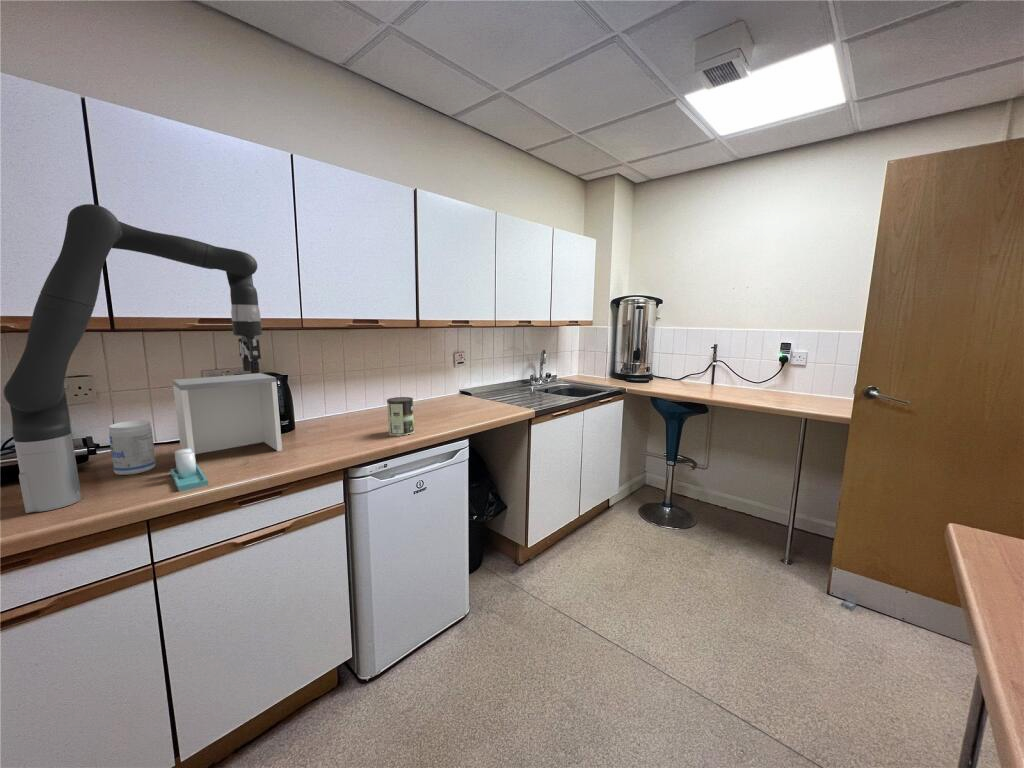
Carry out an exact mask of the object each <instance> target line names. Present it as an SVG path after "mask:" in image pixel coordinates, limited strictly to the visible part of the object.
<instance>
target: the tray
mask: <svg viewBox="0 0 1024 768" xmlns="http://www.w3.org/2000/svg"><path fill="white" fill-rule="evenodd" d="M195 459H196V455H195V456H194V452H192V449H181V448H180V449H178V450H175V451H174V461H175V467H176V468H171V469H170V474H171V476H172V477H171V478H172V479H173V481H174V485H175V487H176V488H177V491H178V492H184V491H188V490H193V489H197V487H198V488H203V487H206V486H205V485H207V486H209V480H208V478H207V476H206V475H205V474H204V472H203V471H202V470H201V468H200V466H199V465H198V464H197V463H196V464H195Z"/></svg>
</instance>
